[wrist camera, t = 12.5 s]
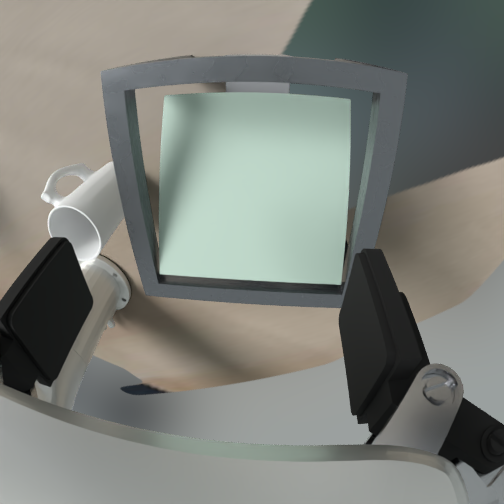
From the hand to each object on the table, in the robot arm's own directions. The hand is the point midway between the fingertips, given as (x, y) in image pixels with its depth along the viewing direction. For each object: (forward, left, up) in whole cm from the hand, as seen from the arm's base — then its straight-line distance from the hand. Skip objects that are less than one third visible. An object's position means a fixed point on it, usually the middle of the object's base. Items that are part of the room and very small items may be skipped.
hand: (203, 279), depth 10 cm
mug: (-8, +19, -27) cm, 33 cm away
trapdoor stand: (-3, 0, -26) cm, 26 cm away
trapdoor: (-3, 0, -14) cm, 15 cm away
